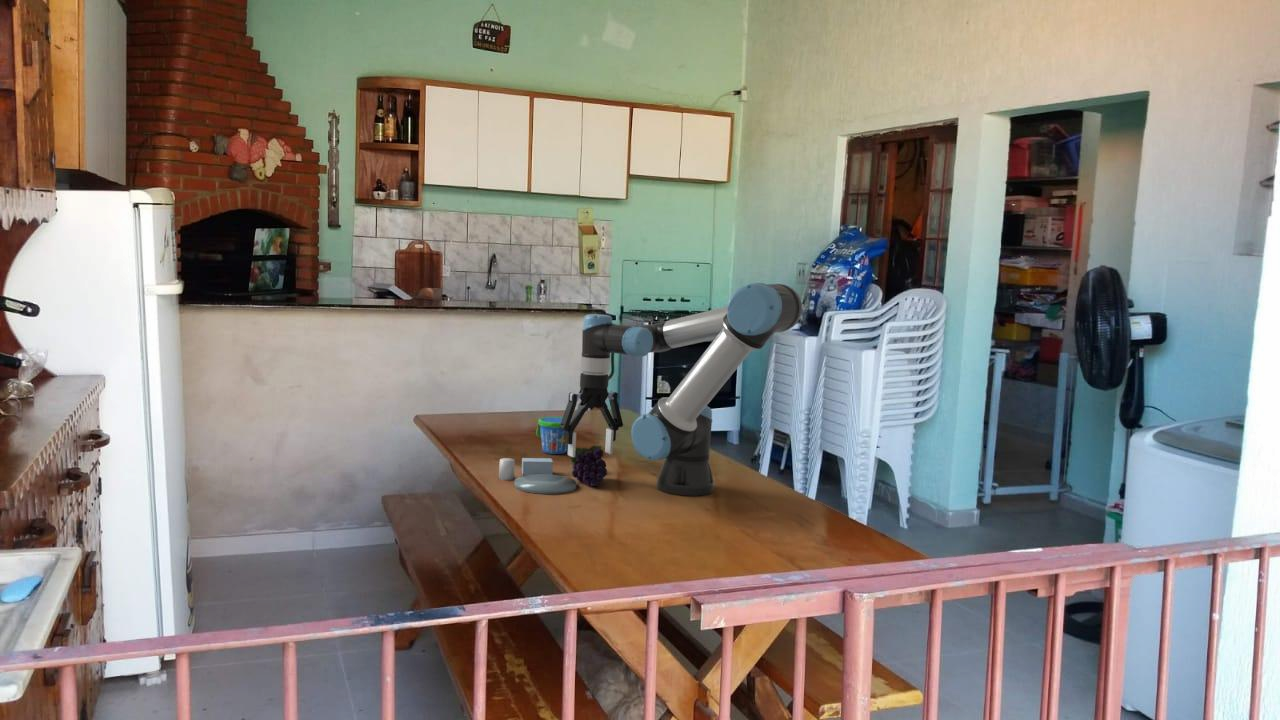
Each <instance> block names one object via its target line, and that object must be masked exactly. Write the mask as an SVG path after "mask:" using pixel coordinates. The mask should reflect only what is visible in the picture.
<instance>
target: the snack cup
mask: <svg viewBox="0 0 1280 720" xmlns="http://www.w3.org/2000/svg"><path fill="white" fill-rule="evenodd" d="M562 418H563V416H543V417H540V418H539V419H538V421H537V422H538V423H537V428H536V433H535V434H536V437H537V438H541V448H542V452H543V453H545V454H548V455H563V454H565V453H568V444H567V443H566V431H565V430H563V429H561V428H560V424H561V421H562ZM573 432H575V430H574V431H573Z"/></svg>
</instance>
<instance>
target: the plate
mask: <svg viewBox="0 0 1280 720" xmlns="http://www.w3.org/2000/svg"><path fill="white" fill-rule="evenodd" d="M514 487H515V488H516V489H517V490H519V491H520V492H521V491H522V492H524V493H525V492H526V493H529V492H530V493H531V494H536V493H537V494H538V495H560V494H561V493H562V494H566V493H571V492H573V491H575V490H576V489H577V481H576V480H575V479H573V478H571V477H569V476H564V475H561V474H560V475H559V474H558V475H557V474H552V475H551V474H532V475H521V476H518V477H516V478H514ZM559 493H560V494H559ZM562 494H561V495H562Z"/></svg>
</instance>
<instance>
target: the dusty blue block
mask: <svg viewBox="0 0 1280 720" xmlns="http://www.w3.org/2000/svg"><path fill="white" fill-rule="evenodd" d="M553 463H554V461H553V459H552V458H550V457H549V458H546V457H545V458H544V457H540V458H538V457H537V458H535V457H522V458H521V474H522V475H521V476H525V475H532V474H551V475H553V466H554V465H553Z"/></svg>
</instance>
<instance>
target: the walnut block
mask: <svg viewBox="0 0 1280 720" xmlns="http://www.w3.org/2000/svg"><path fill="white" fill-rule="evenodd" d="M573 466H574V462H572V460H571V459H570V458H569V467H568V470H569V471H568V472H571V473H572V471H573V470H574V469H573Z"/></svg>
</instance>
